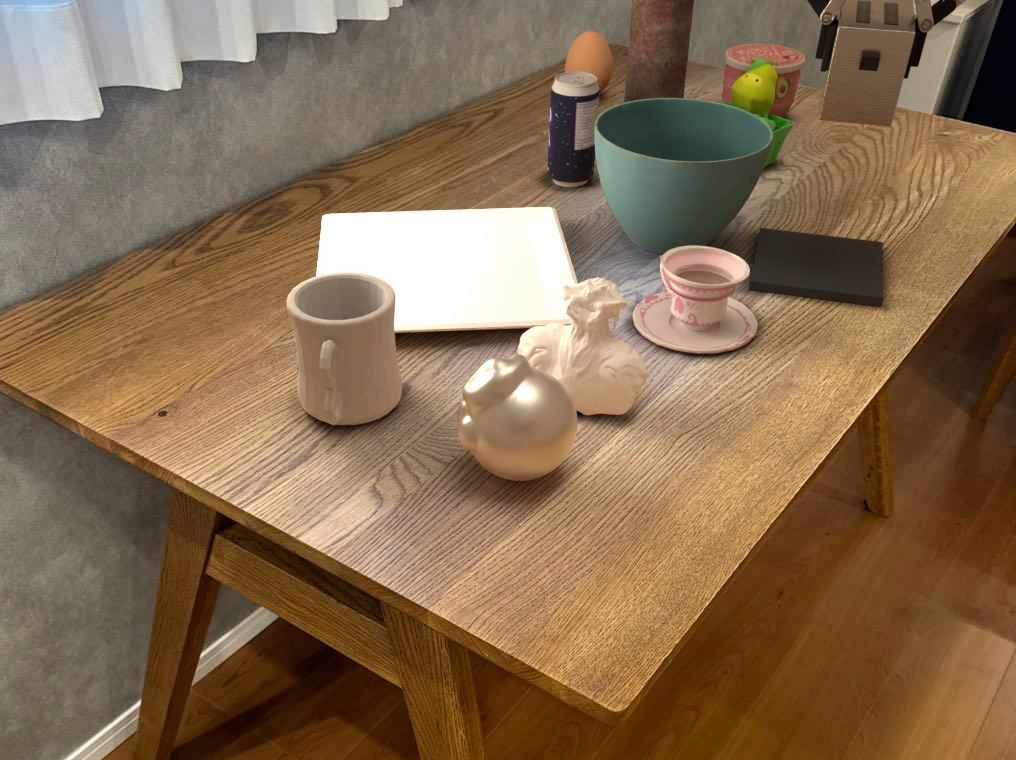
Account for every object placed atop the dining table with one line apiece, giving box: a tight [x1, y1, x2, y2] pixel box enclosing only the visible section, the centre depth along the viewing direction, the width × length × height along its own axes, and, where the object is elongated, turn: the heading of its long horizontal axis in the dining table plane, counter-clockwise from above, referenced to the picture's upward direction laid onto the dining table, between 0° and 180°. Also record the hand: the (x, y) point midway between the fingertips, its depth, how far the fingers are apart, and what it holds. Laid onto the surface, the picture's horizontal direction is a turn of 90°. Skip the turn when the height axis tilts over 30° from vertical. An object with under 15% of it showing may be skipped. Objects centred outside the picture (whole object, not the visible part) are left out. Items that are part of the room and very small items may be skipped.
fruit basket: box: [718, 59, 794, 168], centre depth 127 cm, size 11×9×11 cm
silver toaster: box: [818, 0, 915, 128], centre depth 94 cm, size 6×12×8 cm, turn 163°
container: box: [721, 43, 806, 118], centre depth 139 cm, size 10×10×8 cm
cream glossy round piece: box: [457, 353, 578, 482], centre depth 79 cm, size 9×10×10 cm
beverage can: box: [546, 71, 601, 188], centre depth 121 cm, size 6×6×12 cm
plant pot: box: [594, 97, 773, 255], centre depth 109 cm, size 18×18×12 cm
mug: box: [285, 272, 403, 426], centre depth 85 cm, size 12×9×10 cm
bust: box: [517, 276, 649, 416], centre depth 87 cm, size 12×8×11 cm
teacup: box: [631, 245, 759, 354], centre depth 97 cm, size 12×12×6 cm
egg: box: [564, 30, 614, 95], centre depth 145 cm, size 7×7×9 cm
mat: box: [748, 227, 884, 307], centre depth 107 cm, size 13×13×1 cm
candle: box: [623, 0, 695, 103], centre depth 124 cm, size 8×7×20 cm
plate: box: [315, 206, 579, 334], centre depth 105 cm, size 26×26×2 cm
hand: (864, 68), depth 95 cm, fingers closed on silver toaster, 6 cm apart
